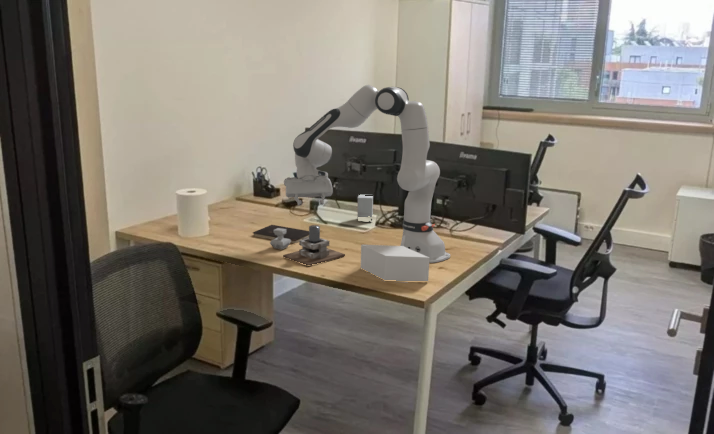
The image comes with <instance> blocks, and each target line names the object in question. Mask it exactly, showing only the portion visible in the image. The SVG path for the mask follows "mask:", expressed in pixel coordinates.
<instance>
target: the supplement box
mask: <svg viewBox="0 0 714 434" xmlns="http://www.w3.org/2000/svg"><path fill="white" fill-rule="evenodd" d="M365 195H366V194H360V195H359V194H358V196H357V218H358V217H368V216H370V217H372V215H373V212H374V208H373V207H374V195H373V196H365Z"/></svg>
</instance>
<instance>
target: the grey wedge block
mask: <svg viewBox="0 0 714 434" xmlns="http://www.w3.org/2000/svg"><path fill="white" fill-rule="evenodd" d="M361 268H362V269H364V270H366V271H368V272H370V273H372V274H374V275H376V276H378V277H380V278H382V279H384V280H396V281H428V282H429V272H430V263H429V257H427V256H425V255H422V254H420V253H418V252H415V251H413V250H411V249H408V248H406V247H404V246H400V245H385V244H380V245H379V244H361V246H360V269H361ZM362 269H361V270H362Z"/></svg>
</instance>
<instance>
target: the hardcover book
mask: <svg viewBox="0 0 714 434" xmlns="http://www.w3.org/2000/svg"><path fill="white" fill-rule="evenodd" d="M277 228H281V229H286V234H285V235H284V236H283V238H287V239H290V240H291V243H290V244H294V243H296V244H299V240H302V238H305V237H309V230H306V229H299V228H295V227H287V226H283V225H275V224H270V225H268V226H265V227H262V228H260V229H258V230H255V231H253V232H252V234H253V237H256V238H257V237H258V238H263V239H269V240H273V239H275V238H278V236H277V235H275V233H274V231H273V230H275V229H277Z"/></svg>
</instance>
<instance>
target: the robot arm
mask: <svg viewBox="0 0 714 434" xmlns="http://www.w3.org/2000/svg"><path fill="white" fill-rule="evenodd" d="M376 110H378V111H379V112H381V113H382V114H385V115H389V116H393V117H398V119H399V121H400V130H401V131H400V132H401V140H402V157H401V162H400V169H399V171H398V173H397V176H396V180H397V184H398V185H399V187H400V188H401V189H402V190H404V191H408V193H407V196H406V198H405V200H404V208H403V209H404V211H403V212H404V213H403V214H404V215H403V219H402V237H401V241H400V245H399V246H404V247H406V248H408V249H411V250H413V251H415V252H418V253H420V254H422V255H425V256H427V257H429V264H430V263H431V264H432V263H439V262H443V261H446V260H449V258H451V254H450V253H449V252H446V245H445V242H444V240H442V238H441V237H440V236H439V234H437V232H435V231H434V227H436V226H435V225H436V223H433V224H432V220H431V213H432V211H431V209H432V200H433V196H434V192H435V189H436V184H437V181H438V180H439V177H440V175H441V170H440V166H439V165H438V164H437V162H435V161H433V160H429V159H428V158H427V157H428V152H429V149H430V146H431V143H430V134H429V132H430V131H429V125H428V124H429V123H428V118H427V112H426V108H425V106H424V104H423V103H422V102H420V101H416V100H409V94H408V93H407V91H406V90H405V89H404V88H401V87H397V86H388V87H384V88H382V89H380V90H379V89H377V87H375V86H374V85H370V84H366V85H363V86H361V87H360V88H359V89H358V90H357V91H356V92H354V94H353V95H351V97H350V98H349V99H348V100H347V101H346V102H345V103H343V104H342V105H340V106H339V107H336V108H332V109H330V110H329V111H327V112H326V113H325V114H323V116H321V117H320V118H319V119H318V120H317V121H316V122H315V123H314V124H312V125H311V126H310V127H308V128H307V129H306V130H305V131H303V132H301V133H300V134H298V135H297V136H296V137H295V139H294V141H293V145H292V146H293V151H294V161H295V162H294V163H295V166H296V177H295V176H294V177H290V176H289V177H287V178H285V179H284V180H283V185H284V186H285V196H286V198H289V199H290V198H294V200H295V201H296V202H297V206H302V205H303V201H302V199H300V198H309V197H310V198H313V197H314V198H316V197H318V198H319V197H321V199H319V202H318V203H319V205H321V206H322V205H324V204H325V202H324V200H325V199H326V197H331V196H332V195H333V193H334V188H333V185H332V181H331V179H330V178H329V173H328V172H327V171H322V170H320V169H317V168H321V167H322V166H325V165H326V164H328V163H329V162H330V161H331V160H332V157H333V148H332V146H331V145H330V144H328V143H326V141H325V142H324V141H323V140H320V139H319V138H321V137H322V136H323V135H324V134H325V133H326V132H328V131H329V130H331V129H332V128H348V129H353V128H358V127H360V126H361V125H363V124H364V123H365V122H366V121H367V119H368V118H369V117H370V116H371V115H372V114H373V113H374V112H375V111H376Z"/></svg>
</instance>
